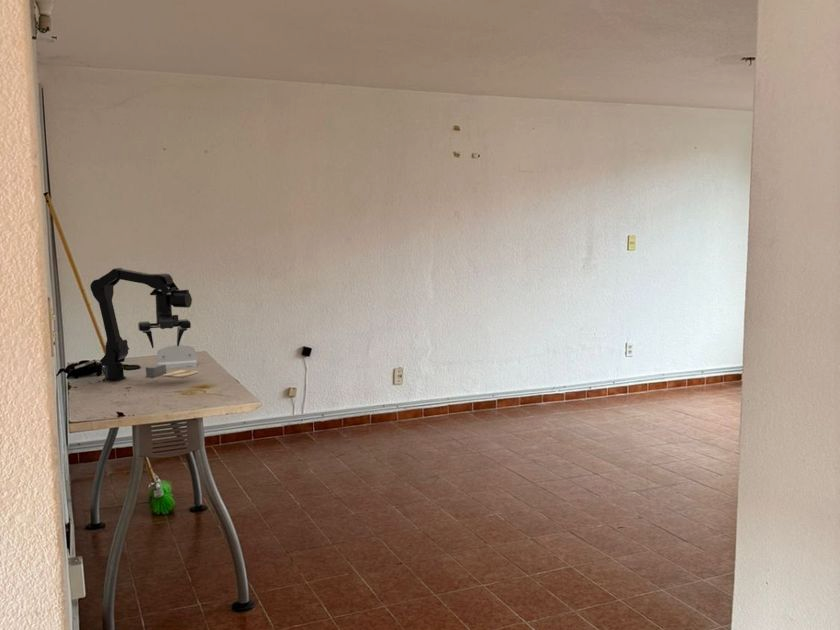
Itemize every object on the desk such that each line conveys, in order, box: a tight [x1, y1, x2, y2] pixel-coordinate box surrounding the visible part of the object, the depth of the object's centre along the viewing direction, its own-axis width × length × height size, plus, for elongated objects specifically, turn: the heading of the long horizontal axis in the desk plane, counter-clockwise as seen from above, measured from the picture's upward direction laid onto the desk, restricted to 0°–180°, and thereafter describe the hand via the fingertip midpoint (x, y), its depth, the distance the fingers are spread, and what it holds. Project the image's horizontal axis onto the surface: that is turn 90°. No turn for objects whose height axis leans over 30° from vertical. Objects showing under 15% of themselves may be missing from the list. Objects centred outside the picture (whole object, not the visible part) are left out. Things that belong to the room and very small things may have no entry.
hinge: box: [155, 344, 199, 369], centre depth 335 cm, size 17×5×10 cm, turn 108°
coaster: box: [161, 369, 200, 379], centre depth 318 cm, size 10×10×1 cm
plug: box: [145, 363, 168, 378], centre depth 318 cm, size 4×9×4 cm
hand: (165, 347), depth 306 cm, fingers open, 9 cm apart
